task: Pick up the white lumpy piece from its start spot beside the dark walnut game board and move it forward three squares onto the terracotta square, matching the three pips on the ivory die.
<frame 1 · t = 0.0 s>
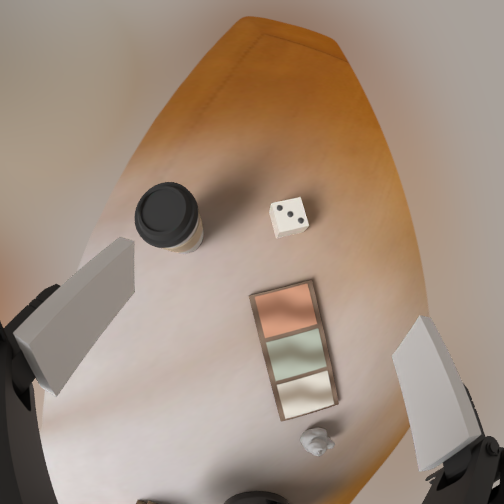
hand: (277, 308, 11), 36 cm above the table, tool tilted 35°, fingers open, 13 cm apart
game board: (296, 353, 45), on the table
white lumpy piece: (314, 435, 43), on the table
coffee cup: (185, 234, 48), on the table
die: (286, 222, 49), on the table
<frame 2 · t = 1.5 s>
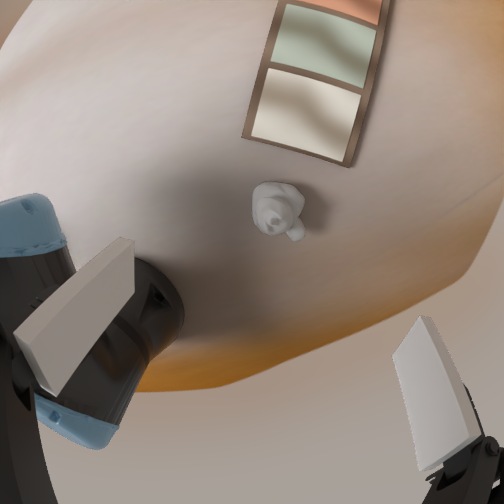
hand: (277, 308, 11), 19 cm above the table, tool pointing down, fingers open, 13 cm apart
game board: (324, 45, 21), on the table
white lumpy piece: (280, 204, 29), on the table
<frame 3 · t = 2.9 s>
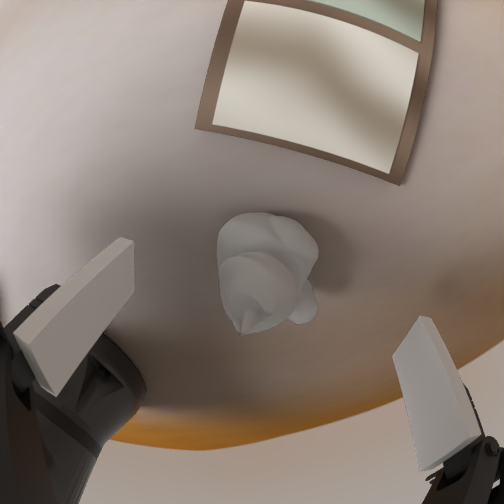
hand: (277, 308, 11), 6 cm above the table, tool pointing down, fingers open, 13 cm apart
white lumpy piece: (273, 248, 17), on the table
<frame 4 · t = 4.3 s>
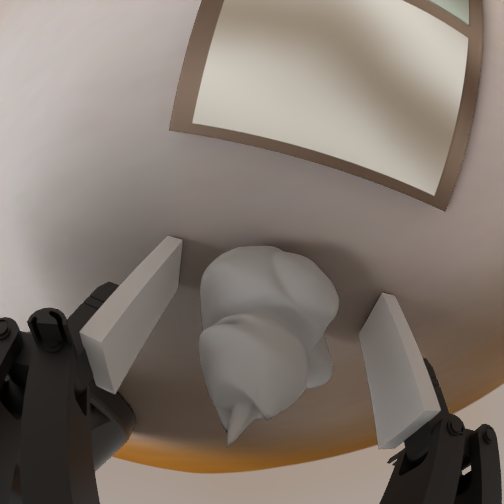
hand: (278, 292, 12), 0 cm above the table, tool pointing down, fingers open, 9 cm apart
white lumpy piece: (277, 287, 13), on the table
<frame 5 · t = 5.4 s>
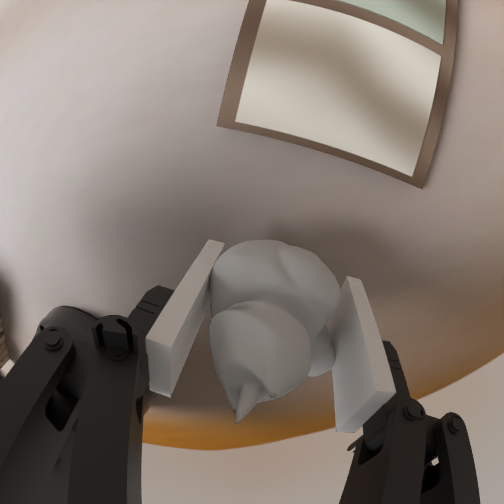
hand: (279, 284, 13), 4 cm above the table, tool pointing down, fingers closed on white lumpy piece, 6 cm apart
white lumpy piece: (282, 280, 13), point 3 cm above the table, touching gripper
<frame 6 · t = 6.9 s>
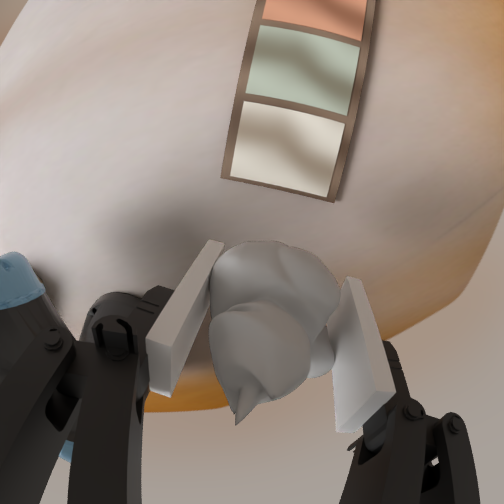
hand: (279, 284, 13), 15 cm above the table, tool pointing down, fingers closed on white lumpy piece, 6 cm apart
game board: (303, 69, 21), on the table
white lumpy piece: (281, 281, 13), point 15 cm above the table, touching gripper
when the fingers open (2 cm above the table, at t = 11.3 s): white lumpy piece stays where it is, resting on game board.
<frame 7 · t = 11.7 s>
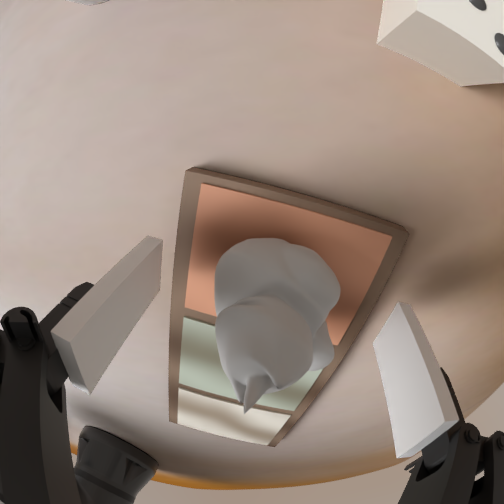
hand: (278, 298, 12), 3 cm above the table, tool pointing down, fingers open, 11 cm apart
game board: (248, 361, 18), on the table
white lumpy piece: (282, 278, 14), point 1 cm above the table, touching game board
die: (426, 27, 8), on the table
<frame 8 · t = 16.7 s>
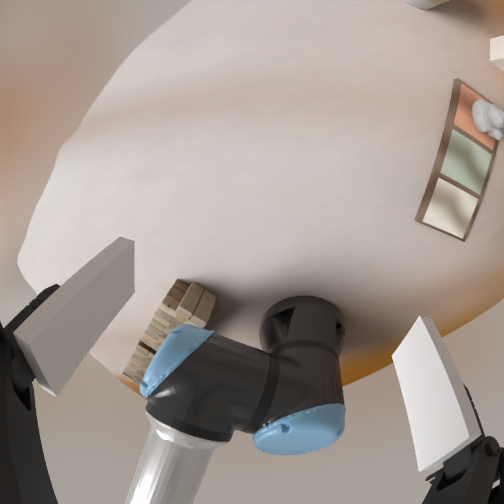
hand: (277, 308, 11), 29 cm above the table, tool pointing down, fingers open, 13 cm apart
game board: (464, 161, 31), on the table
white lumpy piece: (479, 118, 26), point 1 cm above the table, touching game board
block tower: (169, 328, 53), on the table
die: (499, 57, 20), on the table
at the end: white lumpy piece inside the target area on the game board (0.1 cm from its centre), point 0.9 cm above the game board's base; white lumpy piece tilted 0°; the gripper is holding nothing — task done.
